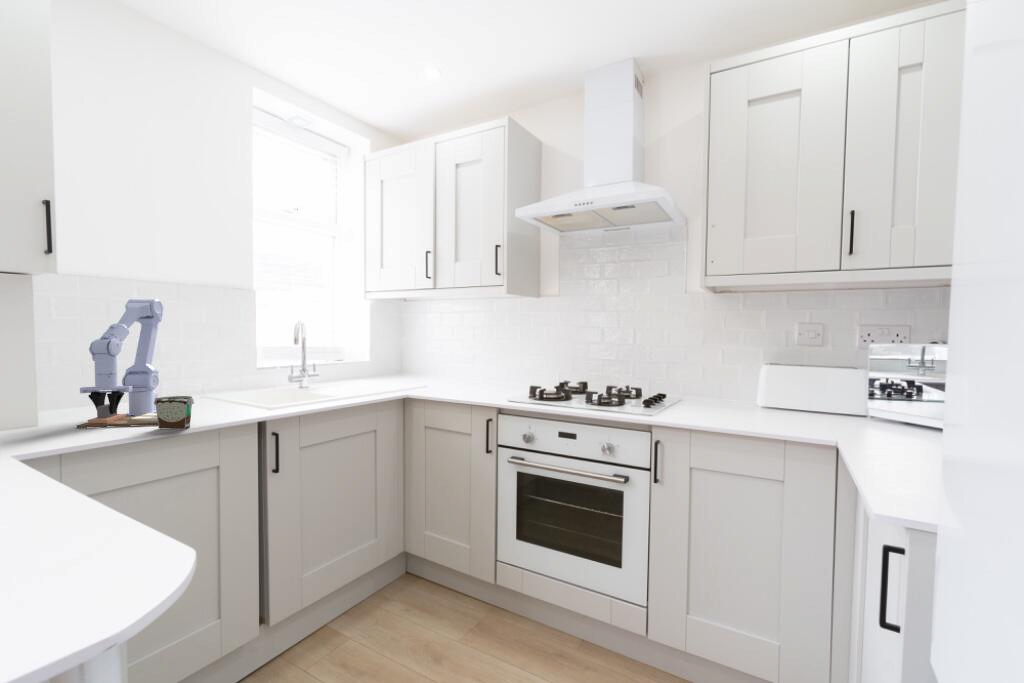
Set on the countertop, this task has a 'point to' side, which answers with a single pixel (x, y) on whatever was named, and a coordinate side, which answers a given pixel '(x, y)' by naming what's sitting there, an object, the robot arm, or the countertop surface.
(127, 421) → the board
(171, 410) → the food container
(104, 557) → the countertop surface
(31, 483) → the countertop surface
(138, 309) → the robot arm
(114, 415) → the pink grey stepped block
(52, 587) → the countertop surface
